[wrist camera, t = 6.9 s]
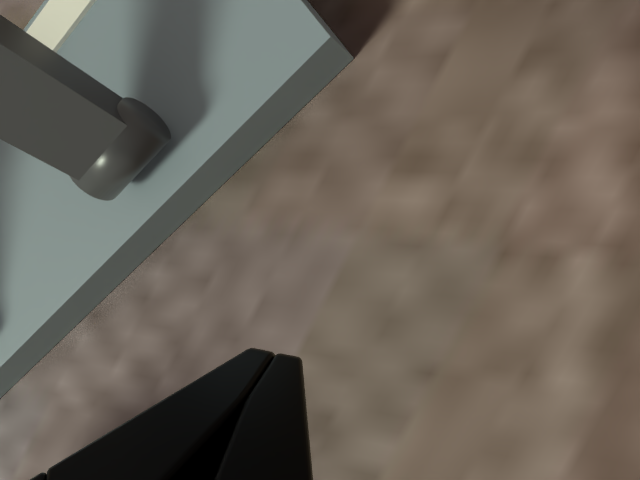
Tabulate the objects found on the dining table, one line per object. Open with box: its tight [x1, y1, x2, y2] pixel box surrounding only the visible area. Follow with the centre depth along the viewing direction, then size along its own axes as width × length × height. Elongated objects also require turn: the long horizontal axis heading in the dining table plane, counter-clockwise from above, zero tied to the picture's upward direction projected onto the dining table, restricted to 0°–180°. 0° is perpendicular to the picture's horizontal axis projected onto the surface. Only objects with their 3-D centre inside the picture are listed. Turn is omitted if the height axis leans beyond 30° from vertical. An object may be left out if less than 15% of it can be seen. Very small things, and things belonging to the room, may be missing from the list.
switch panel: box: [0, 0, 354, 398], centre depth 23 cm, size 10×30×3 cm, turn 129°
